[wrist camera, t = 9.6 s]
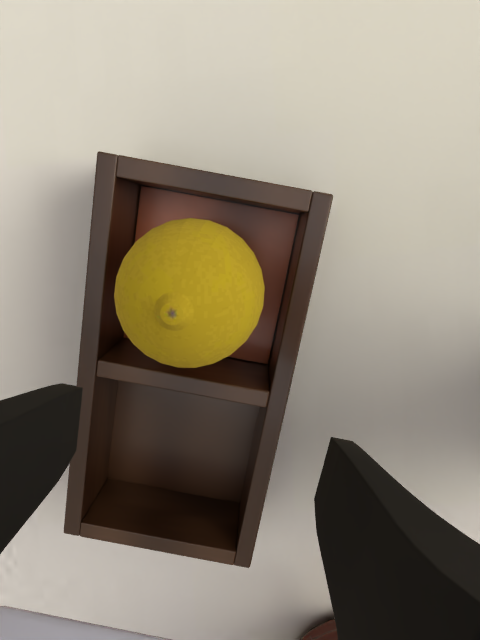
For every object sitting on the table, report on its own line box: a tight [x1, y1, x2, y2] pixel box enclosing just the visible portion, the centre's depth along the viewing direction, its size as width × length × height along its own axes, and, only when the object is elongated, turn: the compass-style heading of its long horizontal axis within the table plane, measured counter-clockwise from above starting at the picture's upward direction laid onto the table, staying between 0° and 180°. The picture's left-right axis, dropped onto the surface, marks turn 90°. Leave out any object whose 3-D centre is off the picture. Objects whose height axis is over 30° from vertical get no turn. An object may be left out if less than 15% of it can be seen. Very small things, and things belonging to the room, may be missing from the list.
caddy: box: [64, 152, 333, 568], centre depth 19 cm, size 9×17×4 cm, turn 170°
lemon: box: [114, 218, 265, 368], centre depth 16 cm, size 6×6×8 cm
